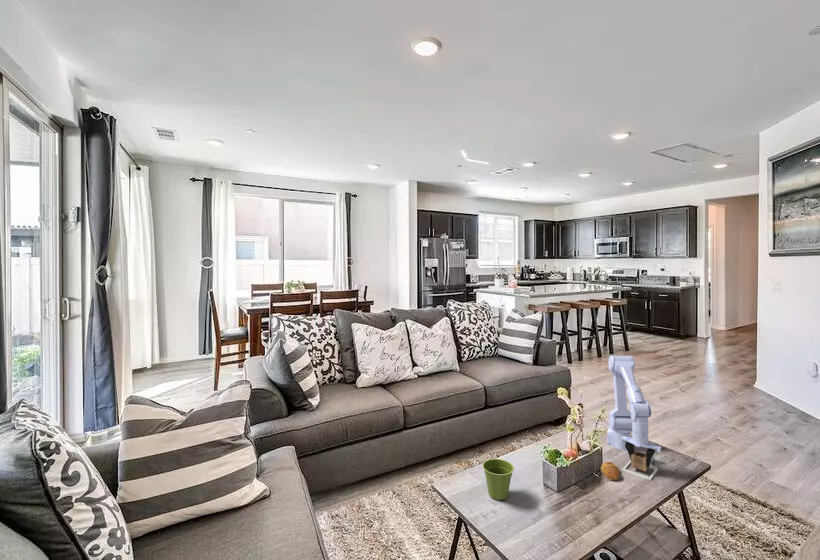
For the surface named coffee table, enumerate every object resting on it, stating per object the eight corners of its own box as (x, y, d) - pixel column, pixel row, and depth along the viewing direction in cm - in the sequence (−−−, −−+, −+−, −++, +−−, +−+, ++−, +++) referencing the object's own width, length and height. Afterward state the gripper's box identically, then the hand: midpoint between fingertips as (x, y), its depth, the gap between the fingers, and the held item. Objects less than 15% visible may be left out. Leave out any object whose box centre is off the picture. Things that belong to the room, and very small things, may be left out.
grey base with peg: (642, 464, 165) (642, 453, 164) (646, 459, 169) (646, 448, 169) (658, 469, 160) (658, 458, 160) (662, 464, 164) (662, 453, 164)
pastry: (623, 483, 152) (623, 473, 152) (604, 481, 154) (604, 472, 153) (616, 470, 161) (616, 461, 161) (599, 468, 163) (599, 460, 163)
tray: (622, 472, 159) (622, 469, 159) (630, 463, 166) (630, 459, 166) (650, 482, 151) (650, 478, 151) (657, 472, 159) (657, 468, 158)
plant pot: (515, 506, 139) (515, 476, 138) (482, 502, 141) (482, 473, 141) (513, 487, 151) (513, 459, 150) (482, 484, 153) (482, 457, 152)
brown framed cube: (634, 461, 162) (634, 450, 162) (649, 466, 158) (649, 454, 158) (630, 466, 159) (630, 455, 158) (645, 471, 155) (645, 459, 155)
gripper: (617, 429, 160) (617, 460, 161) (657, 440, 150) (657, 473, 151) (623, 424, 165) (623, 454, 166) (662, 434, 155) (662, 466, 155)
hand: (640, 463), depth 159 cm, fingers closed on brown framed cube, 5 cm apart
